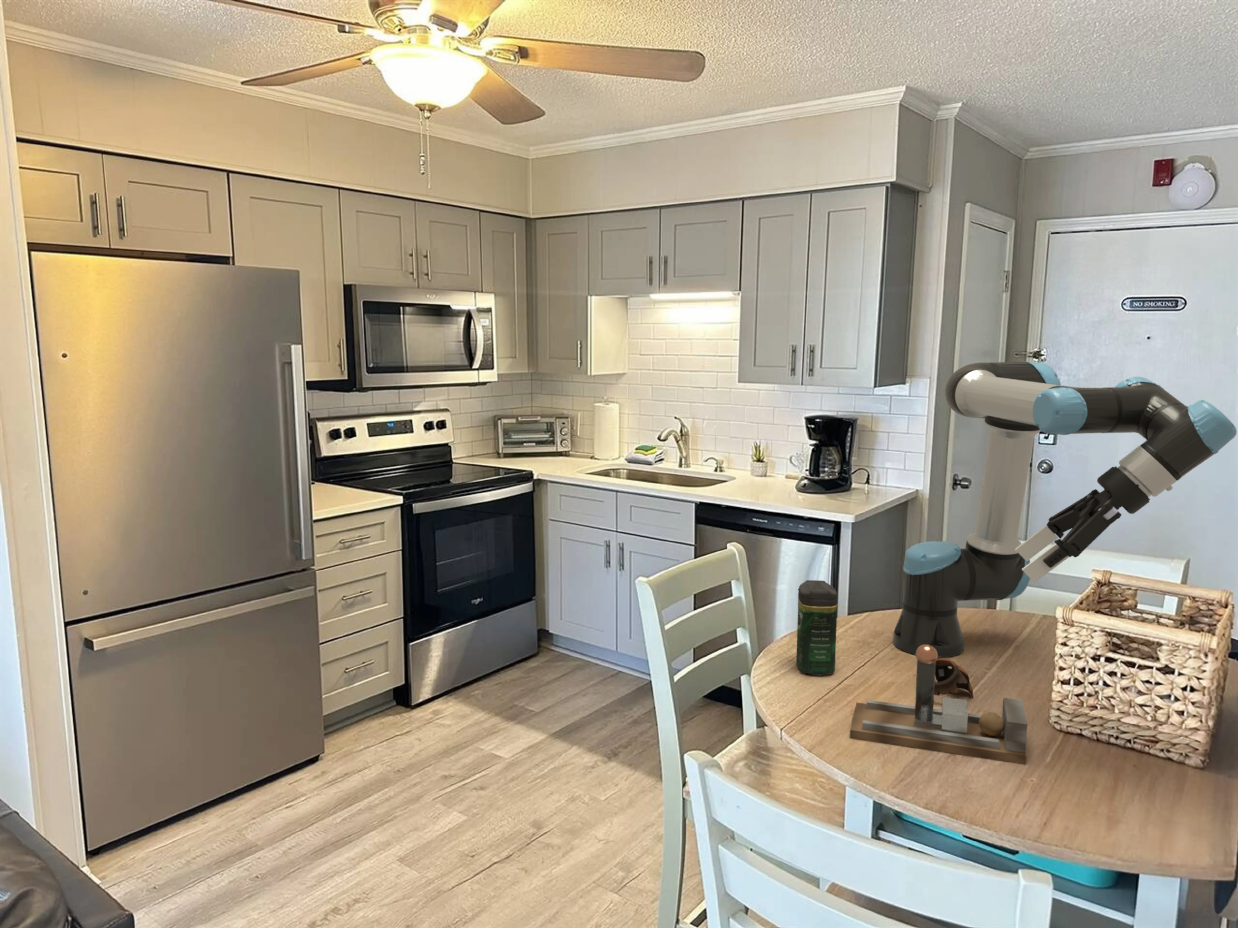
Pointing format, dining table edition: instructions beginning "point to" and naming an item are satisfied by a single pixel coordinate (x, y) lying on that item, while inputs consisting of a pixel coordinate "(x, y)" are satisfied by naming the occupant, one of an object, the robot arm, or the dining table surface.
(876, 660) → the dining table surface
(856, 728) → the press base
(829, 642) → the coffee jar
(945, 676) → the brown curved piece
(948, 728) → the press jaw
